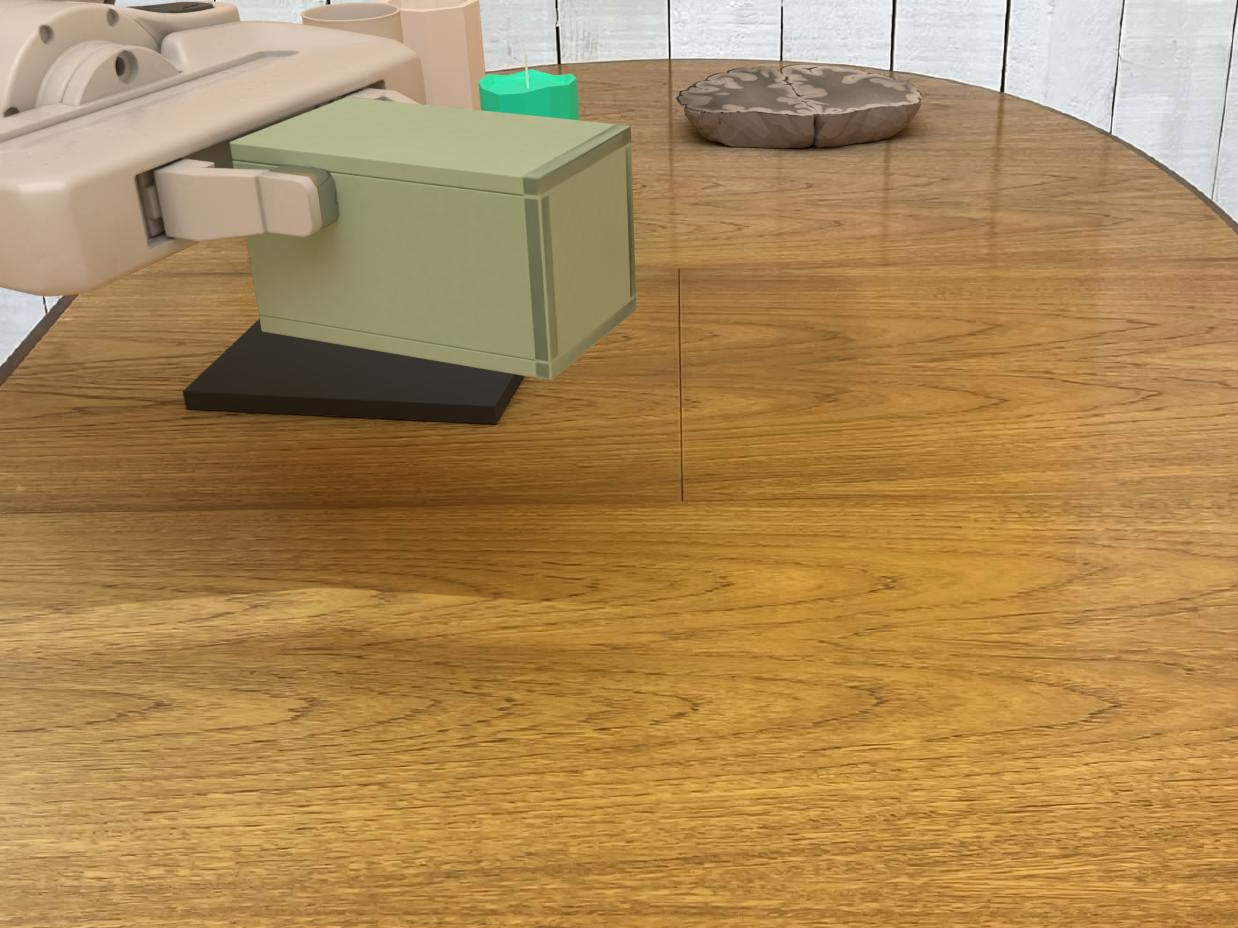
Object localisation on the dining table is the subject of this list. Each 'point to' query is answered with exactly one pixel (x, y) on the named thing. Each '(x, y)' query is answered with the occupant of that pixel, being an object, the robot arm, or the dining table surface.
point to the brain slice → (799, 106)
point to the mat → (346, 382)
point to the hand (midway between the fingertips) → (395, 169)
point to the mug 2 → (446, 48)
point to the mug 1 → (358, 18)
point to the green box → (452, 234)
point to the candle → (530, 94)
